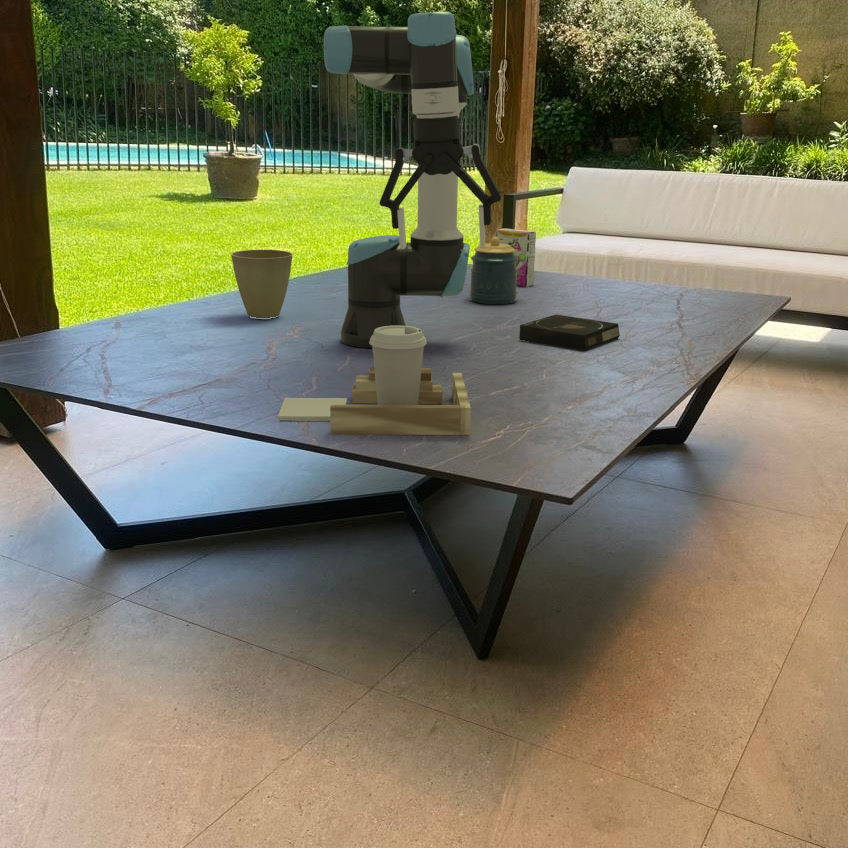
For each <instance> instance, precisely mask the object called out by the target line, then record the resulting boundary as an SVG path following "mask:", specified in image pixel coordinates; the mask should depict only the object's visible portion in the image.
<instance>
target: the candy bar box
mask: <svg viewBox="0 0 848 848" xmlns="http://www.w3.org/2000/svg"><path fill="white" fill-rule="evenodd" d="M496 237H498V238H499V239H500V244H508V245H510V246H511V247H512V248H514V249H515V250H516V251H515V252H514V255H515V256H516V257H517V258H518V261H517V262H516V269H517V270H518V272H517V287H522V288H528V287H531V286H532V287H533V286H534V280H535V279H534V275H535V258H536V257H535V256H536V241H537V239H536V238H537V232H536V231H535V230H525V229H515V228H514V229H513V228H500V229H496Z"/></svg>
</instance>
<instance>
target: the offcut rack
mask: <svg viewBox="0 0 848 848" xmlns="http://www.w3.org/2000/svg"><path fill="white" fill-rule="evenodd" d="M451 382H452V383H451V385H452V387H451V391H452V392H451V397H452V402H453V403H452V404H418V405H378V404H347V405H331V406H330V421H329V422H330V435H394V436H395V435H396V436H397V435H401V436H403V435H405V436H406V435H407V436H410V435H411V436H413V435H414V436H415V435H418V436H419V435H420V436H421V435H422V436H423V435H425V436H428V435H429V436H430V435H434V436H439V435H441V436H442V435H443V436H444V435H448V436H450V435H451V436H455V435H456V436H465V435H467V436H470V435H471V415H472V414H471V411H472V410H471V409H472V407H471V404H470V400H469V397H468V393H467V388H466V385H465V381H464V377H463V374H462V372H452V381H451Z"/></svg>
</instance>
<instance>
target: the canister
mask: <svg viewBox="0 0 848 848" xmlns="http://www.w3.org/2000/svg"><path fill="white" fill-rule="evenodd" d="M473 249H474V252H475V253H474V254H473V255H472V256H471V257H470V260H471V261H472V267H471V268H470V291H469V297H470V301H471V302H473V301H474V303H476V302H478V303H477V304H481V303H484V304H483V305H495V304H497V305H508V304H509V303H510V304H512V303H515V302H516V301H517V297H518V295H517V294H518V292H517V287H518V286H517V272H518V270H517V269H516V262H517V261H518V258H517V257H516V256H515V255H514V252H515V251H516V250H515V249H514V248H512V247H511V246H510V245H508V244H500V239H499V238H498V237H497V236H491V238H490V242H489V243H486V242H485V246H480V244H479V245H478V246H476V247H474V248H473ZM510 304H509V305H510Z"/></svg>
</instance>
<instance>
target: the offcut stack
mask: <svg viewBox="0 0 848 848" xmlns="http://www.w3.org/2000/svg"><path fill="white" fill-rule="evenodd" d="M368 371H369V374H368V375H356V377H355V384H353V385H352V390H351V391H352V394H351V395H352V396H351V397H352V398H351V399H352V400H351V401H352V404H378V403H377V392H376V381H375V369H374V367H369V370H368ZM433 383H434V382H433V376H432V368H431V367H425V368H424V367H422V369H421V379H420V389H419V399H418V405H443V396H444V395H443V387H442V386H443V385H442V384H433Z"/></svg>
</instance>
